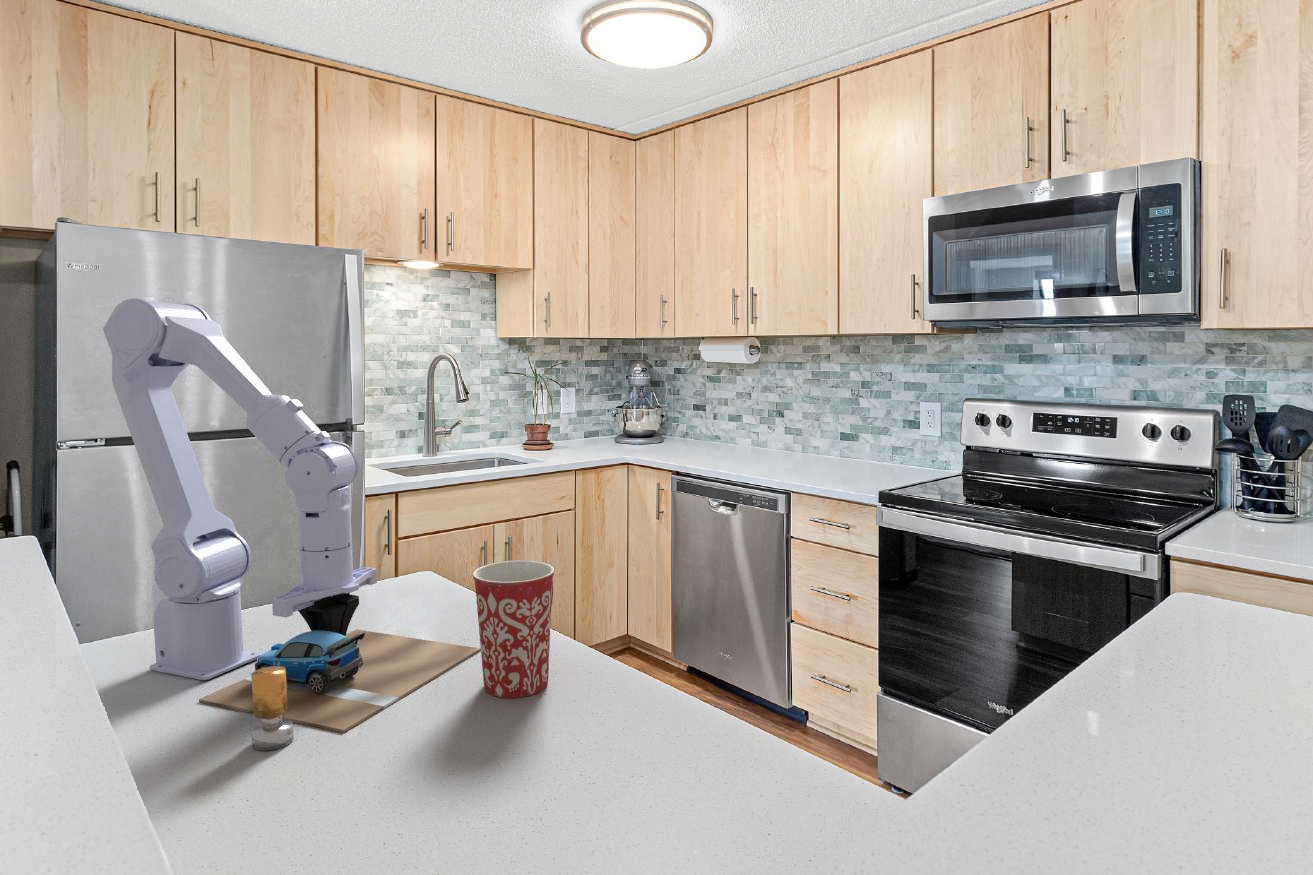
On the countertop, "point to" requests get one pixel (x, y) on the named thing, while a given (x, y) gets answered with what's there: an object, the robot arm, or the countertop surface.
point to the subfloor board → (359, 682)
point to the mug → (514, 626)
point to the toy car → (315, 658)
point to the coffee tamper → (270, 709)
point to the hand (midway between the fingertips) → (330, 657)
